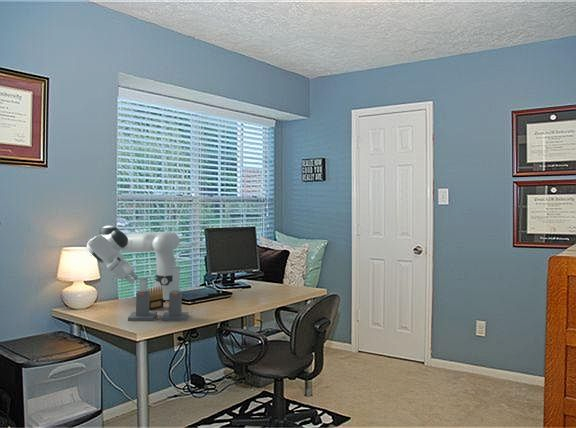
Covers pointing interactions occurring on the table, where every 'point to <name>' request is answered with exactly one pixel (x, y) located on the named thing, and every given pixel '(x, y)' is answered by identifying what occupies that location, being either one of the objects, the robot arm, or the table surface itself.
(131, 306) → the table surface
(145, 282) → the left jack column
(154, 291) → the ammunition clip
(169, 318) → the right jack stand
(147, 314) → the base
